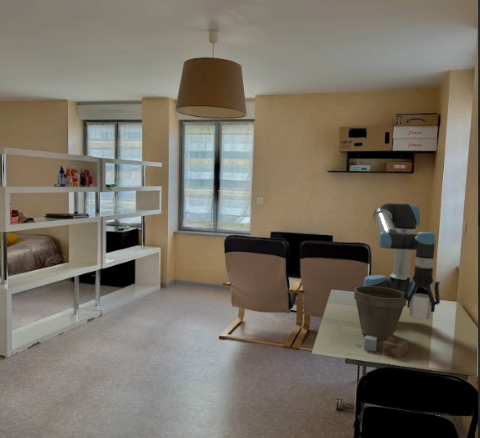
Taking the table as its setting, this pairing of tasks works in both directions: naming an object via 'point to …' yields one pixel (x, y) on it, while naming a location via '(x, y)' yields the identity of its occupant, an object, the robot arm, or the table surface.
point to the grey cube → (370, 343)
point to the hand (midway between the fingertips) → (420, 316)
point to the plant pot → (379, 310)
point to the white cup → (420, 306)
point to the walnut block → (395, 346)
